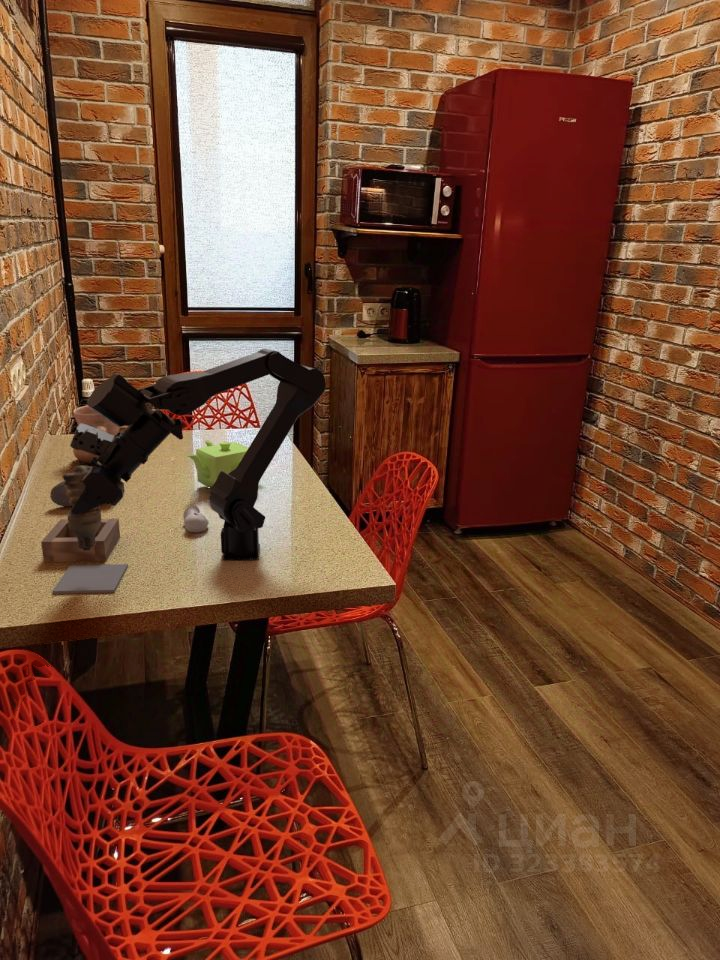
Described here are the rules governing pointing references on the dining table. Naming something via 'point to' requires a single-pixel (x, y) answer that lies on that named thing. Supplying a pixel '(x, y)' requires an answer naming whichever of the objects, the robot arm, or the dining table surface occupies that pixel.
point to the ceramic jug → (93, 420)
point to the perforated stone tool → (60, 495)
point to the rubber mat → (91, 579)
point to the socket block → (65, 543)
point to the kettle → (216, 460)
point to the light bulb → (86, 521)
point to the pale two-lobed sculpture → (194, 519)
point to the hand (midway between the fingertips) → (75, 507)
